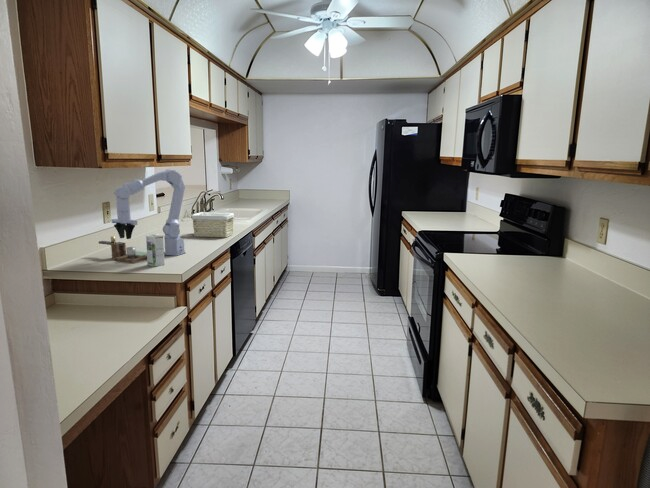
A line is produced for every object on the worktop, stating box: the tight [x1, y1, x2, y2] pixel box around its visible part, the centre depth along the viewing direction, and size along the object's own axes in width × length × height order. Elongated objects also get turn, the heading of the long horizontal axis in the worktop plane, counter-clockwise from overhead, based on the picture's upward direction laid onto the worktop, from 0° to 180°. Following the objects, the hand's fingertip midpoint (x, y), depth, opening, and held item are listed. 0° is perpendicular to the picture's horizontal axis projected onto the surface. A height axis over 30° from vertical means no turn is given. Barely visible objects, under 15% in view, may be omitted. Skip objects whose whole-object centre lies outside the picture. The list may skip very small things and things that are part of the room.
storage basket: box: [191, 211, 235, 238], centre depth 275 cm, size 24×16×15 cm
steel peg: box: [126, 246, 137, 259], centre depth 207 cm, size 4×4×6 cm
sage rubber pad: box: [126, 250, 147, 256], centre depth 219 cm, size 9×8×1 cm
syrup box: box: [145, 233, 165, 267], centre depth 198 cm, size 6×6×14 cm
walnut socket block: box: [110, 241, 147, 264], centre depth 208 cm, size 16×10×8 cm, turn 70°
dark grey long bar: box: [98, 235, 125, 246], centre depth 211 cm, size 14×2×4 cm, turn 69°
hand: (125, 238), depth 207 cm, fingers open, 4 cm apart
